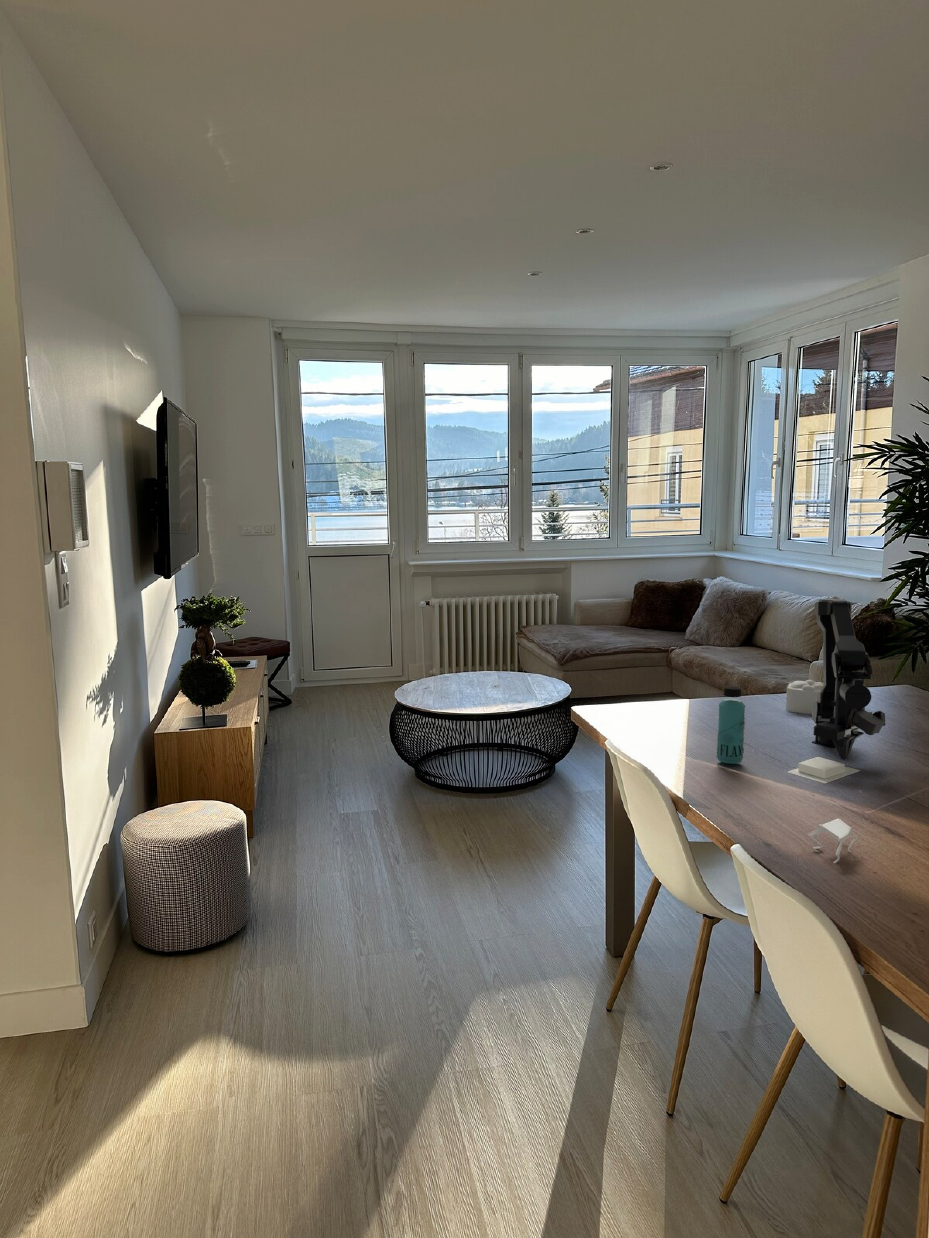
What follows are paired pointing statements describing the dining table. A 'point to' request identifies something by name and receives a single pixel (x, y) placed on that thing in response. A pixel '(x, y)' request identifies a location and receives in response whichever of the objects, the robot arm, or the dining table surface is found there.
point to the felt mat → (846, 772)
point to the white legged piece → (834, 834)
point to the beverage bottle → (731, 727)
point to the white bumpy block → (802, 696)
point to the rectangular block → (821, 767)
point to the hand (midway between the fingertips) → (843, 759)
